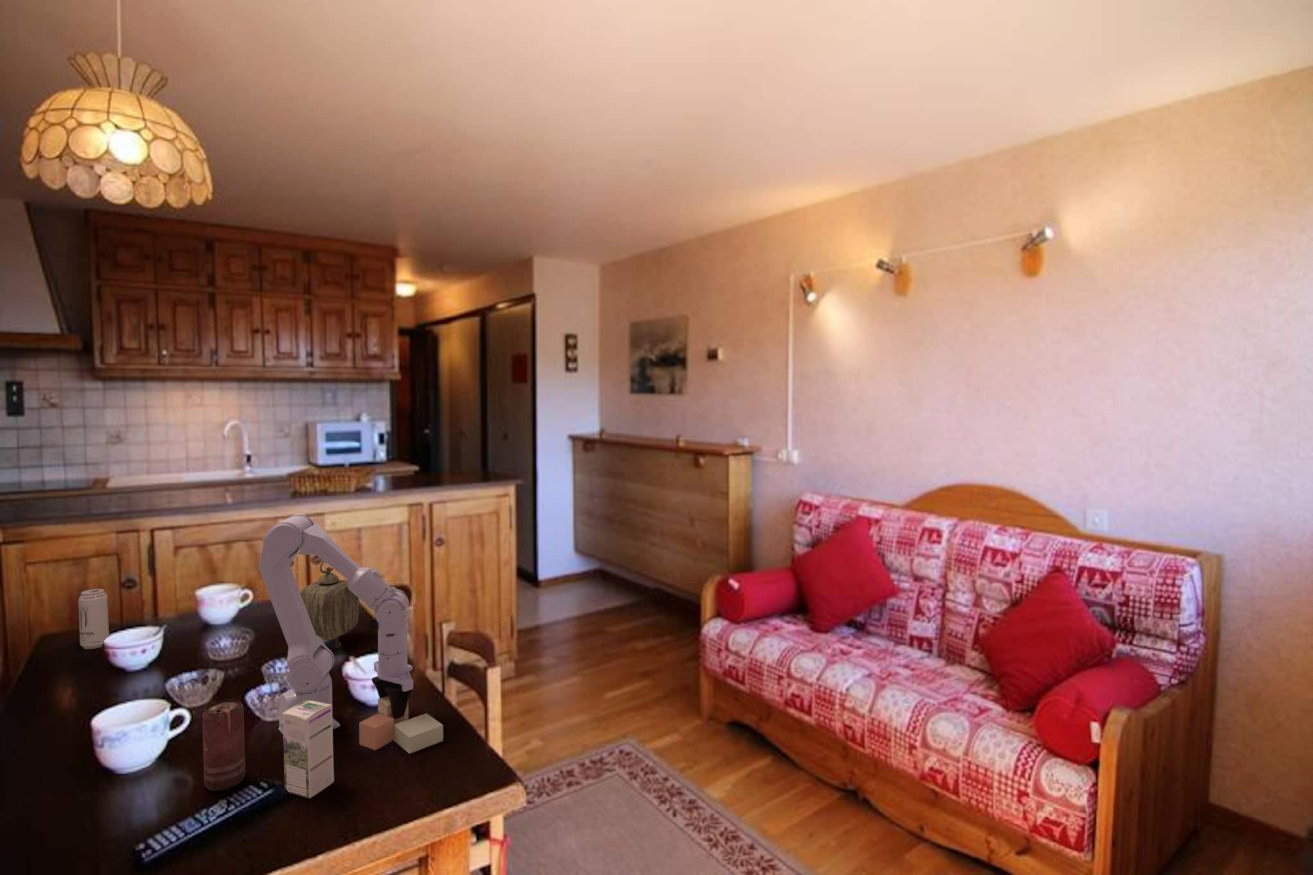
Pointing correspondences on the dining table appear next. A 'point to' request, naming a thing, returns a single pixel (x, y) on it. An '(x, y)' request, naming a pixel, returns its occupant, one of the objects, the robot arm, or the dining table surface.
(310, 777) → the syrup box
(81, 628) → the energy drink can
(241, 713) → the can
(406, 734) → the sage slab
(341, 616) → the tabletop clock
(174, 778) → the dining table surface
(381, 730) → the terracotta cube
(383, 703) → the maple cube
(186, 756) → the dining table surface
